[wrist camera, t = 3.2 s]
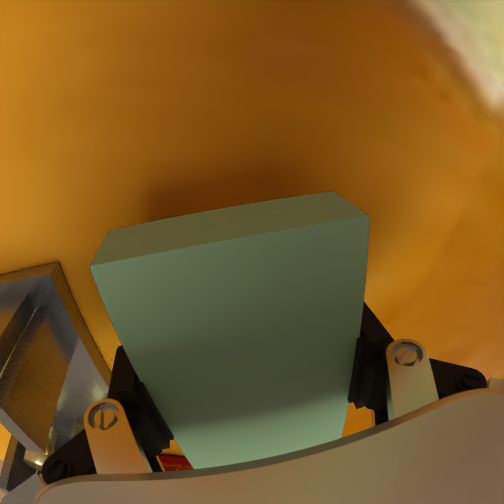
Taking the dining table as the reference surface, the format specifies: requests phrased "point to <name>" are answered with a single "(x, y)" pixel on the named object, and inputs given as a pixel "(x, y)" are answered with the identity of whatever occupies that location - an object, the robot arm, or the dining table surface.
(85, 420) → the robot arm
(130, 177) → the dining table surface
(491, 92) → the dining table surface
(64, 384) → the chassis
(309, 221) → the board
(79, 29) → the dining table surface
